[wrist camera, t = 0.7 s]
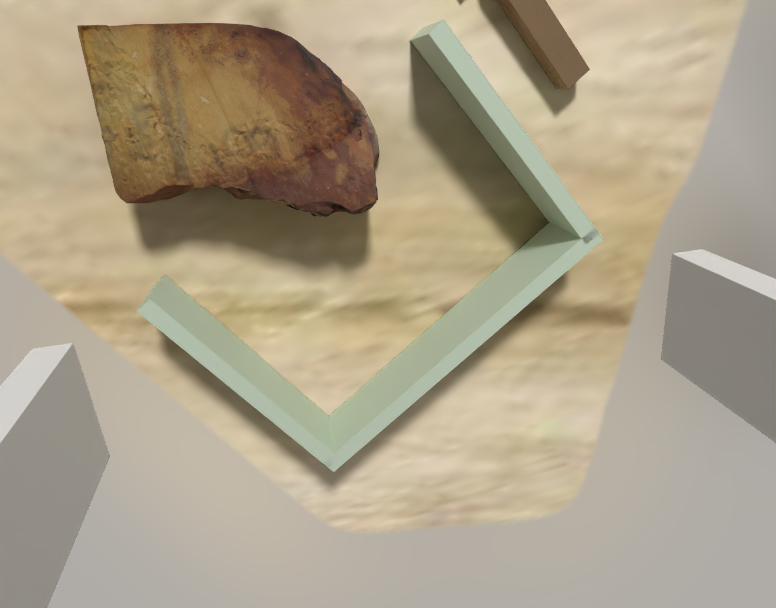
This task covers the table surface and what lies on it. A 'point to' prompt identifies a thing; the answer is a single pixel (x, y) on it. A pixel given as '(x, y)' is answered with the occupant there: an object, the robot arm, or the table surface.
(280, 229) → the table surface
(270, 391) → the mint green u-channel
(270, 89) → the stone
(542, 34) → the trowel
